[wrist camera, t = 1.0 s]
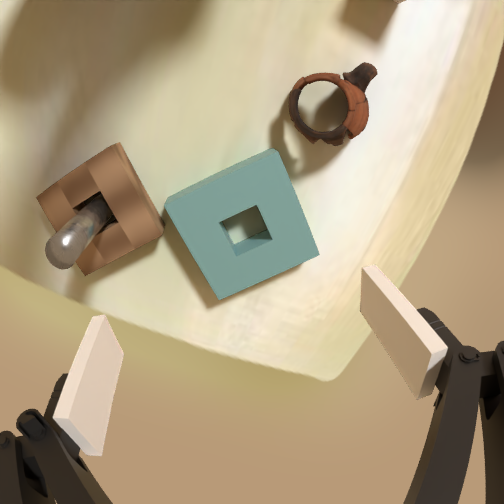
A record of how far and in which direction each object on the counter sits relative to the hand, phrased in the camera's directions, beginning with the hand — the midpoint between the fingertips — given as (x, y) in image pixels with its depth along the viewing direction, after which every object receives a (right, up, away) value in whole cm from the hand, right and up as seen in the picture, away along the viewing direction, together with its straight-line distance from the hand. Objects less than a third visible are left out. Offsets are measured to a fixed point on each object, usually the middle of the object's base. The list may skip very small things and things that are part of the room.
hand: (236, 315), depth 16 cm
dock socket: (0, +7, +25) cm, 26 cm away
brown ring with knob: (+10, +22, +20) cm, 31 cm away
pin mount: (-18, +9, +22) cm, 30 cm away
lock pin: (-18, +9, +22) cm, 30 cm away
